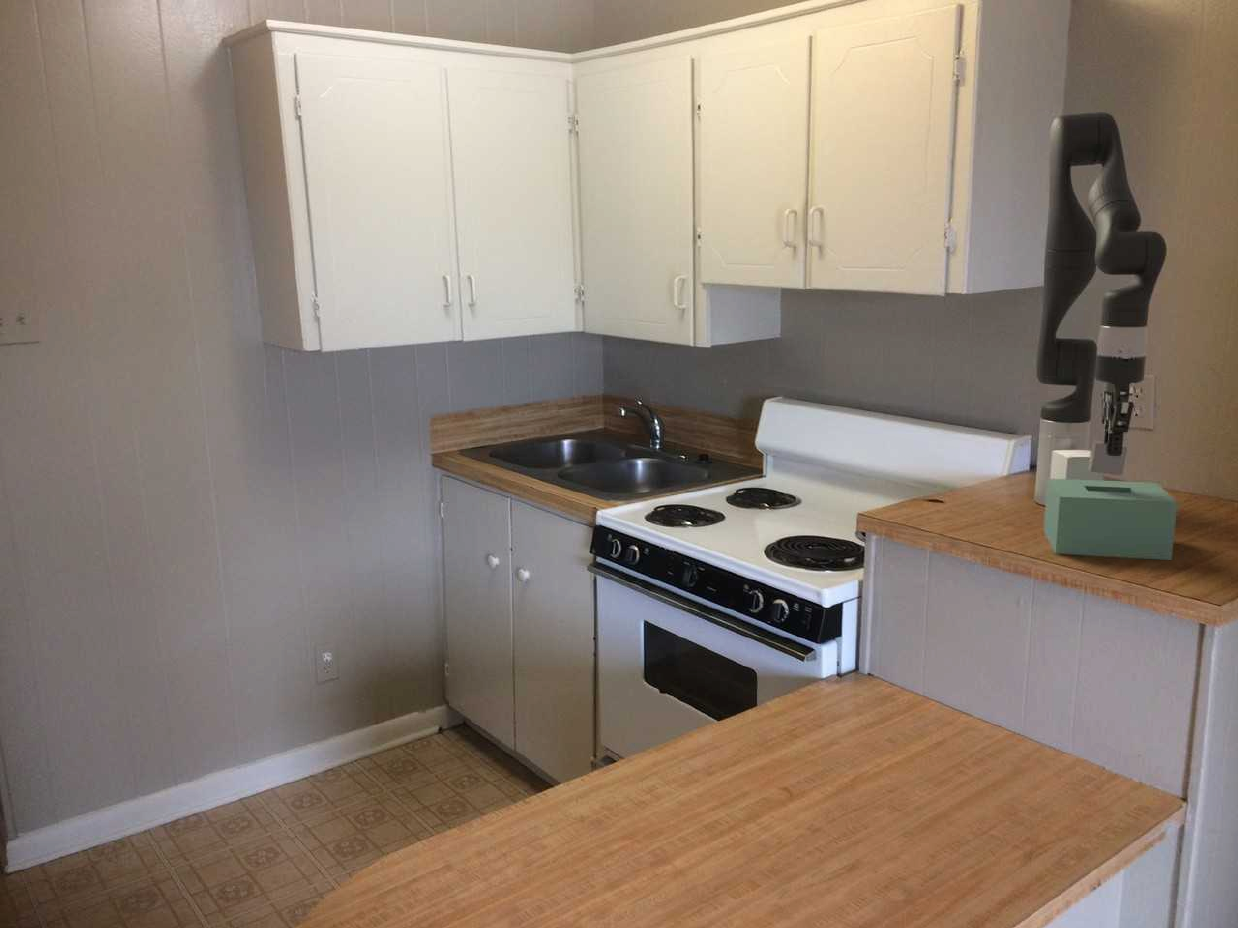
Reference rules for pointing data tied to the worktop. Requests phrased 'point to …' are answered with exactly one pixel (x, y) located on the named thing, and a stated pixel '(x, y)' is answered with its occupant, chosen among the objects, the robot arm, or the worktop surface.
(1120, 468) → the block
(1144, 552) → the money box
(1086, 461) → the supplement box
